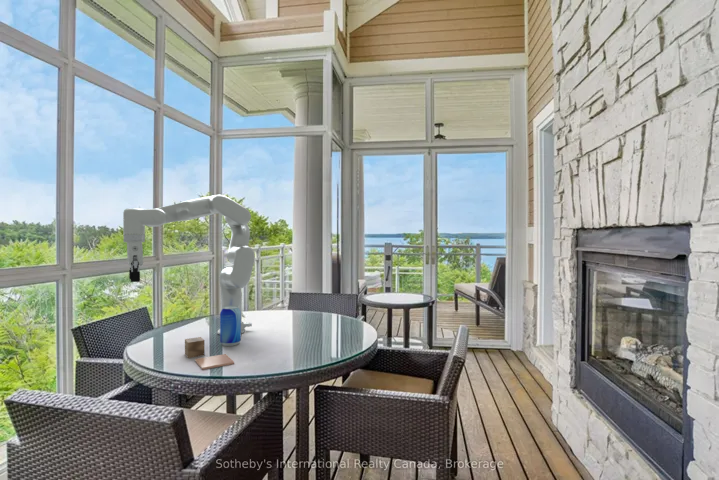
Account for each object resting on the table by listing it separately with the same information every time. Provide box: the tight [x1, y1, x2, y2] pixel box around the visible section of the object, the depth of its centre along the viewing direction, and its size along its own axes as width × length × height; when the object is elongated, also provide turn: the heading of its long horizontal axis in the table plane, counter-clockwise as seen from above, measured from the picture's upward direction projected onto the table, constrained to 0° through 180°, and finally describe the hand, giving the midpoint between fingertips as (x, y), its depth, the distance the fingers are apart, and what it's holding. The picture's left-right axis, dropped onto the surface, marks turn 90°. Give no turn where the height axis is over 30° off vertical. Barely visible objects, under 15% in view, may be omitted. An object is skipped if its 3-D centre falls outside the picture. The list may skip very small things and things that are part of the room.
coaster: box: [195, 353, 235, 371], centre depth 141 cm, size 11×11×1 cm
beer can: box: [219, 306, 242, 347], centre depth 165 cm, size 8×8×16 cm
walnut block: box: [184, 336, 206, 359], centre depth 150 cm, size 6×6×6 cm
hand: (134, 280), depth 156 cm, fingers open, 9 cm apart
